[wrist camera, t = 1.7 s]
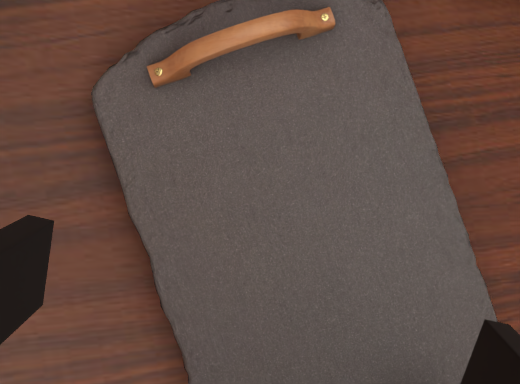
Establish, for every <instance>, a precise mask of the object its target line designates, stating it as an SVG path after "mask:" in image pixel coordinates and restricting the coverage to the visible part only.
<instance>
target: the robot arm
mask: <svg viewBox="0 0 520 384" xmlns="http://www.w3.org/2000/svg"><path fill="white" fill-rule="evenodd" d="M53 225H54V221H53V220H48V219H44V218H40V217H35V216H31V215H27V216H25V217H23V218H21V219H20V220H18V221H16V222H14V223H12V224H10V225H8V226H6V227H4V228H2V229H0V344H1V343H3V342H4V341H5V340H6V339H7V338H8V337H9V336H10V335H11V334H12V333H13V332H14V331H15V330H16V329H17V328H19V327H20V326H21V325H22V324H23V323H24V322H25V321H26V320H27V319H28V318H29V317H30V316H31V315H32V314H33V313H35V312H36V311H37V310H38V309H39V308H40V307H41V306H42V305H43V299H44V292H45V284H46V277H47V269H48V262H49V255H50V247H51V240H52V232H53ZM460 384H520V335H519V334H518V333H517V332H516V331H515V330H514V329H513V328H512V327H511V326H510V325H508V324H504V323H500V322H495V321H491V320H486V319H484V322H483V325H482V327H481V330H480V333H479V335H478V338H477V341H476V343H475V346H474V349H473V351H472V354H471V357H470V359H469V362H468V365H467V367H466V370H465V373H464V375H463V378H462V381H461V383H460Z"/></svg>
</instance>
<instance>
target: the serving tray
mask: <svg viewBox="0 0 520 384" xmlns="http://www.w3.org/2000/svg"><path fill="white" fill-rule="evenodd" d="M91 95H92V101H93V107H94V110H95V113H96V117H97V119H98V122H99V125H100V128H101V130H102V133H103V136H104V138H105V141H106V144H107V147H108V150H109V152H110V155H111V158H112V161H113V164H114V167H115V170H116V173H117V176H118V178H119V180H120V183H121V186H122V190H123V194H124V198H125V201H126V204H127V208H128V214H129V216H130V218H131V220H132V222H133V223H134V225H135V227H136V229H137V231H138V233H139V235H140V237H141V240H142V242H143V245H144V247H145V249H146V251H147V253H148V255H149V257H150V263H151V268H152V272H153V277H154V283H155V287H156V291H157V293H158V295H159V297H160V303H161V307H162V309H163V311H164V313H165V315H166V317H167V318H168V320H169V322H170V324H171V327H172V329H173V334H174V337H175V339H176V341H177V343H178V345H179V347H180V349H181V352H182V356H183V362H184V368H185V369H186V371H187V373H188V384H460V383H461V381H462V378H463V375H464V373H465V370H466V367H467V365H468V362H469V359H470V357H471V354H472V351H473V349H474V346H475V343H476V341H477V338H478V335H479V333H480V330H481V327H482V325H483V322H484V319H486V320H491V321H495V322H498V321H497V318H496V315H495V312H494V309H493V306H492V303H491V300H490V297H489V295H488V291H487V286H486V284H485V282H484V280H483V278H482V275H481V272H480V270H479V269H478V267H477V265H476V259H475V255H474V253H473V250H472V248H471V245H470V241H469V234H468V233H467V231H466V229H465V226H464V224H463V220H462V218H461V216H460V214H459V211H458V207H457V203H456V198H455V196H454V194H453V192H452V190H451V187H450V185H449V182H448V175H447V173H446V171H445V169H444V167H443V164H442V161H441V159H440V156H439V154H438V150H437V145H436V143H435V140H434V138H433V136H432V134H431V132H430V128H429V125H428V121H427V119H426V116H425V114H424V110H423V107H422V105H421V102H420V99H419V96H418V93H417V90H416V87H415V85H414V82H413V79H412V77H411V74H410V71H409V68H408V66H407V63H406V60H405V57H404V54H403V50H402V47H401V44H400V42H399V41H398V39H397V36H396V33H395V30H394V27H393V23H392V20H391V17H390V15H389V12H388V10H387V8H386V6H385V5H384V3H383V1H382V0H219V1H217V2H214V3H211V4H209V5H207V6H205V7H203V8H200V9H197V10H194V11H191V12H190V13H189V14H187V15H186V16H185V17H183V18H182V19H180V20H179V21H177V22H175V23H173V24H171V25H169V26H166V27H164V28H161V29H159V30H156V31H155V32H153V33H152V34H151V35H149V36H148V37H146V38H145V39H143V40H142V41H140V42H139V44H138V45H137V46H136V48H135V49H134V50H132V51H130V52H128V53H126V54H124V56H123V57H122V58H121V60H120V61H119V62H118V63H116V64H114V65H113V66H111V67H109V68H108V69H107V71H106V72H105V73H104V74H103V75H102V76H101V77H100V79H99V80H98V81H97V83H96V84H95V85H94V86H93V89H92V92H91Z"/></svg>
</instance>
